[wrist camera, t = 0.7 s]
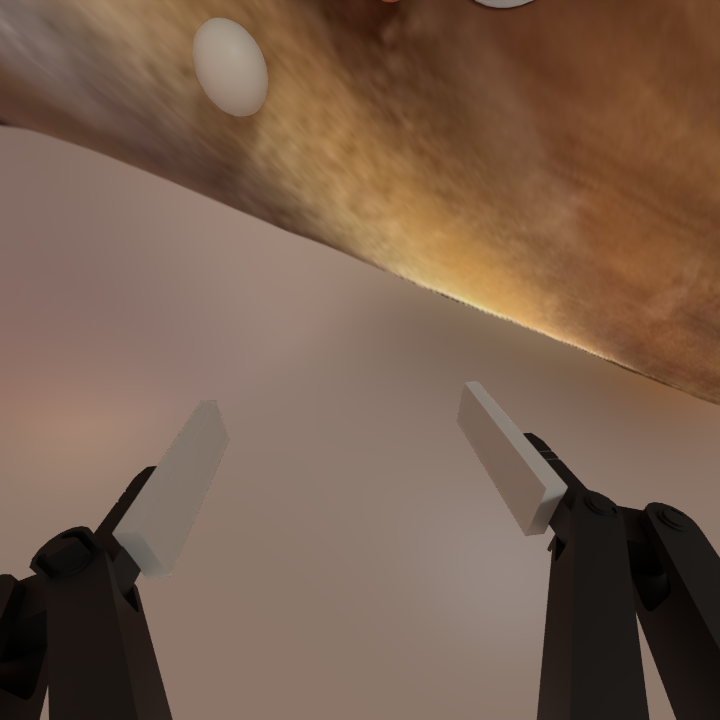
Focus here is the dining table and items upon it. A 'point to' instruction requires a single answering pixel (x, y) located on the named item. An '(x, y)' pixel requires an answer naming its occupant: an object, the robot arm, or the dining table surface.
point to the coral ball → (390, 0)
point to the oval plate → (503, 3)
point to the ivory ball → (230, 67)
